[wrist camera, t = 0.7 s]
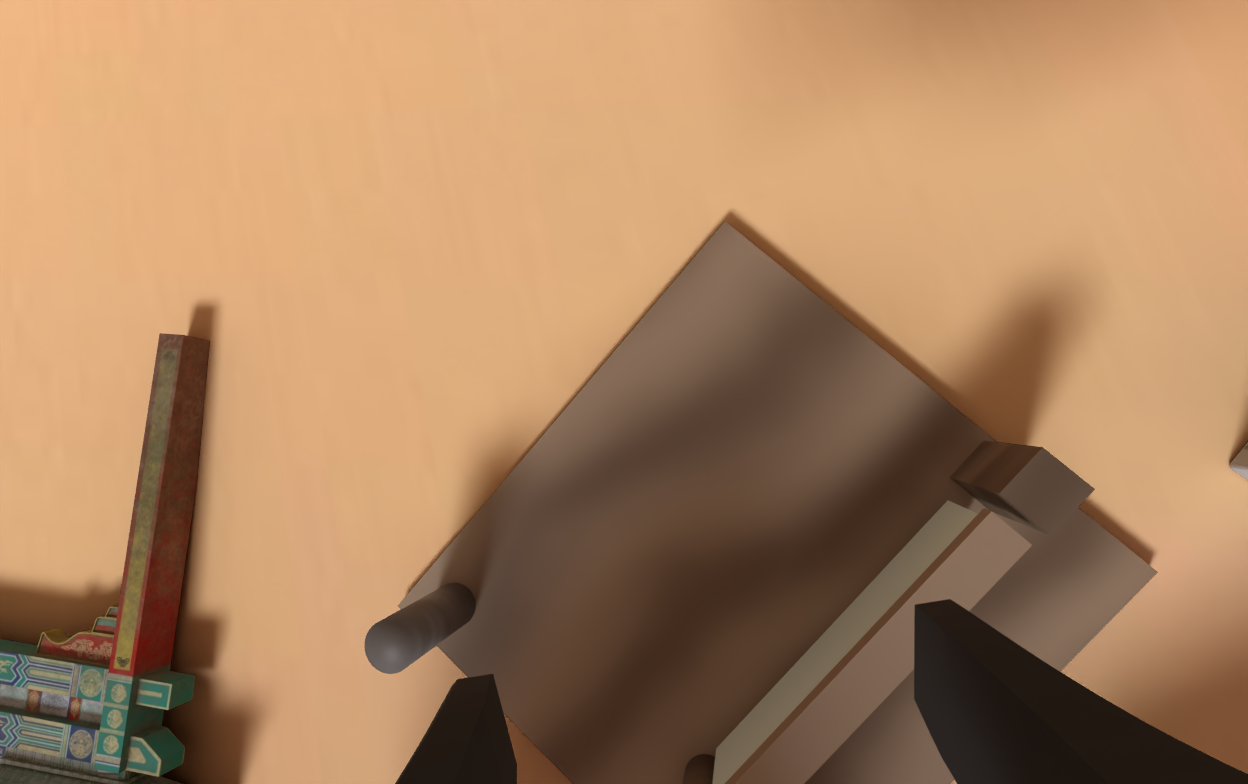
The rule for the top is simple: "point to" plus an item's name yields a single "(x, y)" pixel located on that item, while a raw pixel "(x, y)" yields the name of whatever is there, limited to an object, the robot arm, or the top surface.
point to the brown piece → (736, 536)
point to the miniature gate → (119, 622)
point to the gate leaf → (866, 649)
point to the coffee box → (1241, 462)
